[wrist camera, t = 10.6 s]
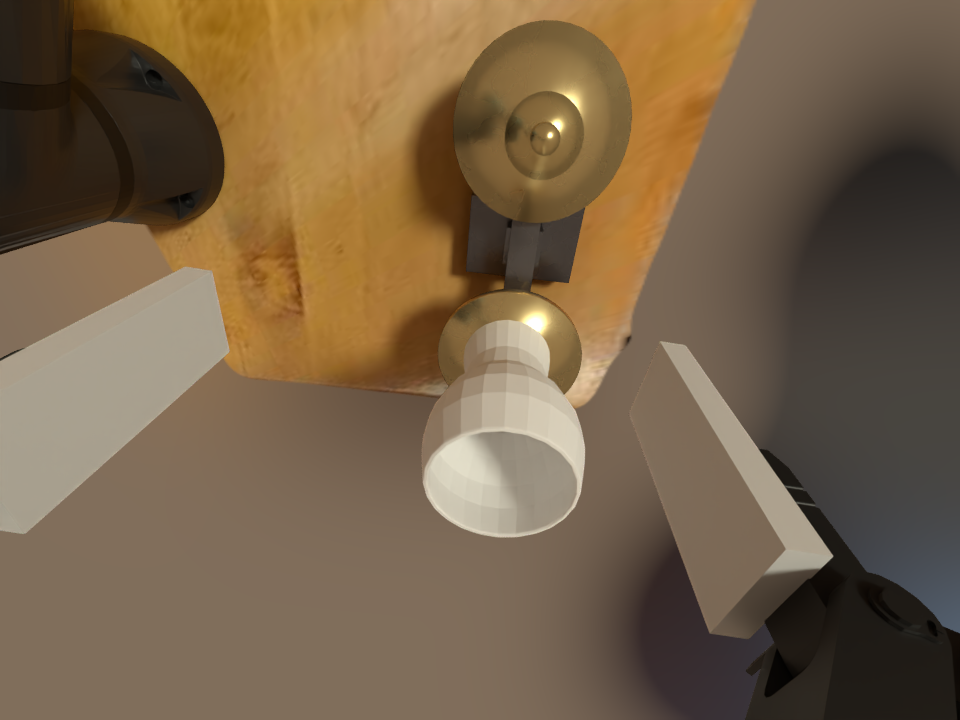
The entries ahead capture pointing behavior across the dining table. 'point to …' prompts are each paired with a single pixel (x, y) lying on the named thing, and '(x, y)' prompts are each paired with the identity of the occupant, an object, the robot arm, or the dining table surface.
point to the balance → (534, 176)
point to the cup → (503, 438)
